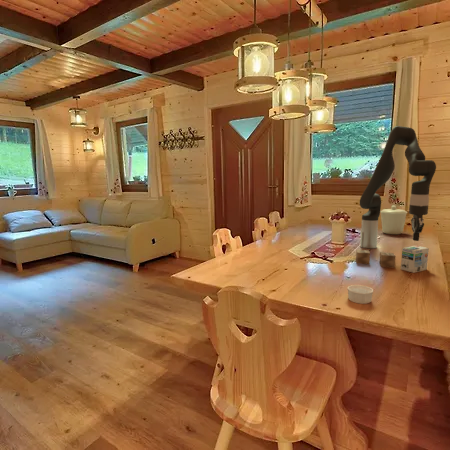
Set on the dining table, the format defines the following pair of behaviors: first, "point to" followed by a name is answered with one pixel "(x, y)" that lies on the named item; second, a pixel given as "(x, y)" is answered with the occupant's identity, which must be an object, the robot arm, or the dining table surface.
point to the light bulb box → (414, 258)
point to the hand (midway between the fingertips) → (415, 240)
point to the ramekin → (360, 294)
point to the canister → (393, 220)
